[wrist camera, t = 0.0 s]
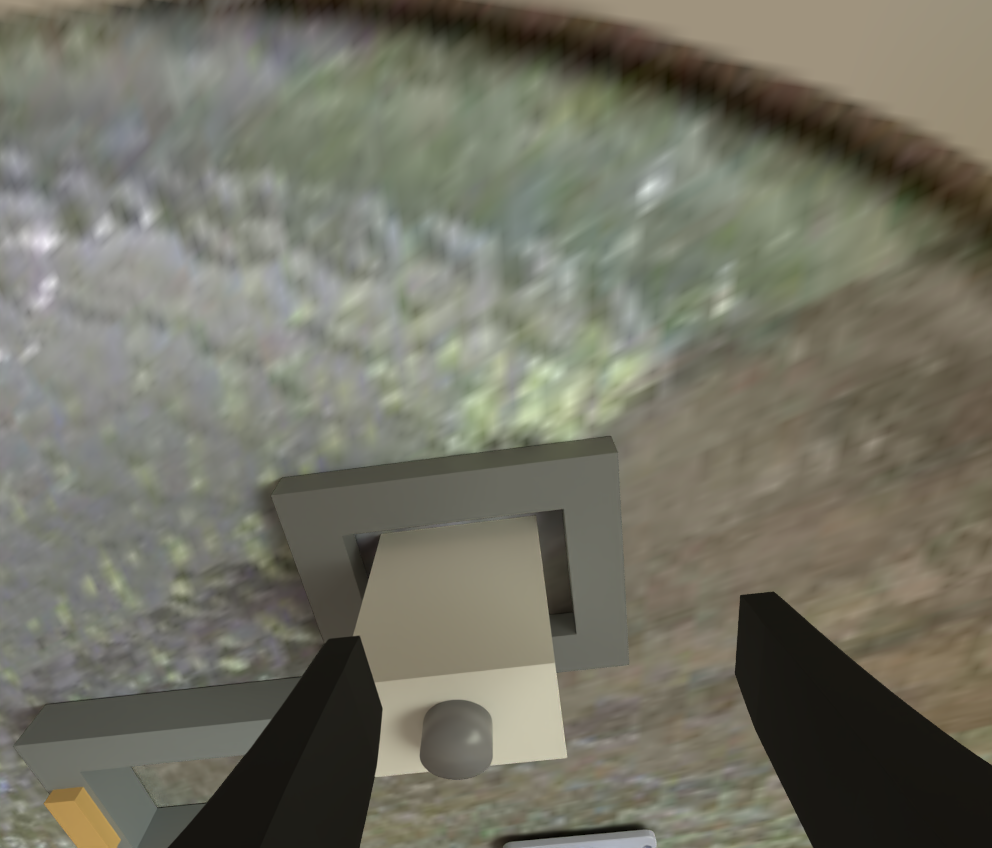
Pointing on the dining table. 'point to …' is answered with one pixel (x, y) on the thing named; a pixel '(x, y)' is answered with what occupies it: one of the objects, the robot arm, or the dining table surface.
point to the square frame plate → (461, 497)
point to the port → (138, 755)
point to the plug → (461, 649)
